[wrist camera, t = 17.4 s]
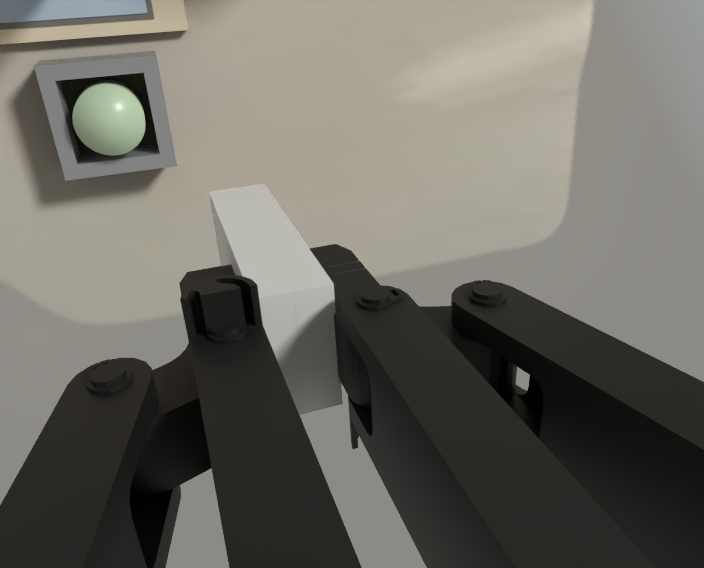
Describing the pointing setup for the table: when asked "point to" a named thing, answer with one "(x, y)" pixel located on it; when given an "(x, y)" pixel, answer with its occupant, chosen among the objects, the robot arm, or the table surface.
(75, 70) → the button collar
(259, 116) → the table surface
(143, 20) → the sheet
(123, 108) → the button
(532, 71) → the table surface
